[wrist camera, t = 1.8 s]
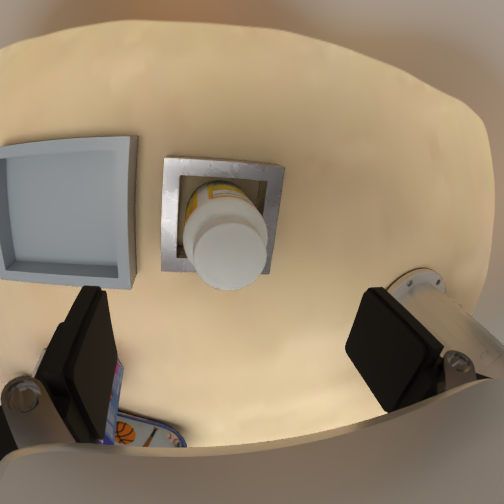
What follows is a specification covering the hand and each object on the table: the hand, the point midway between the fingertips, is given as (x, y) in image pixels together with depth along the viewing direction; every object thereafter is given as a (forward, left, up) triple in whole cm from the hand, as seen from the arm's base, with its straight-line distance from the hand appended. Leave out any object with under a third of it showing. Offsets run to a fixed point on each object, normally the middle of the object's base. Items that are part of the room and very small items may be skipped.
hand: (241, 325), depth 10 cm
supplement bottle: (0, 0, -16) cm, 16 cm away
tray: (+14, 0, -16) cm, 21 cm away
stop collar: (0, 0, -16) cm, 16 cm away
